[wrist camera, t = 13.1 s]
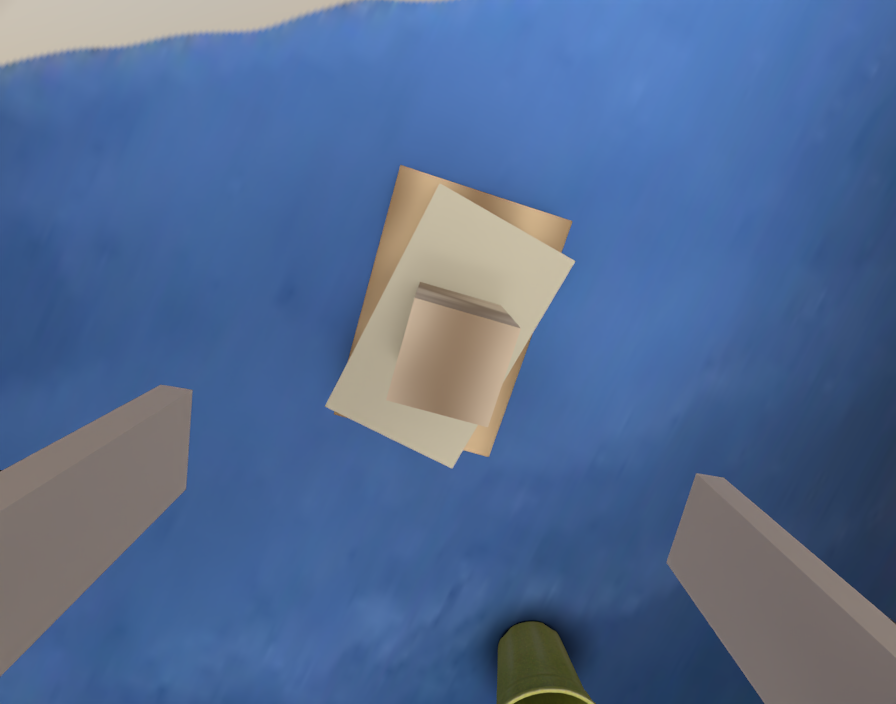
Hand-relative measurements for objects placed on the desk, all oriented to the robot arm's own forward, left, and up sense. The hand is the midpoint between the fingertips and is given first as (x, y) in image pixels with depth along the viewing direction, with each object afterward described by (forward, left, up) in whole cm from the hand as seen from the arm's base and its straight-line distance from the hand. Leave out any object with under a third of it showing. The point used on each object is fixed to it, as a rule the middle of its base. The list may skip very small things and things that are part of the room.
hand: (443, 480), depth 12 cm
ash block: (0, +1, -17) cm, 17 cm away
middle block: (0, 0, -22) cm, 22 cm away
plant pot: (+14, -30, -27) cm, 43 cm away
